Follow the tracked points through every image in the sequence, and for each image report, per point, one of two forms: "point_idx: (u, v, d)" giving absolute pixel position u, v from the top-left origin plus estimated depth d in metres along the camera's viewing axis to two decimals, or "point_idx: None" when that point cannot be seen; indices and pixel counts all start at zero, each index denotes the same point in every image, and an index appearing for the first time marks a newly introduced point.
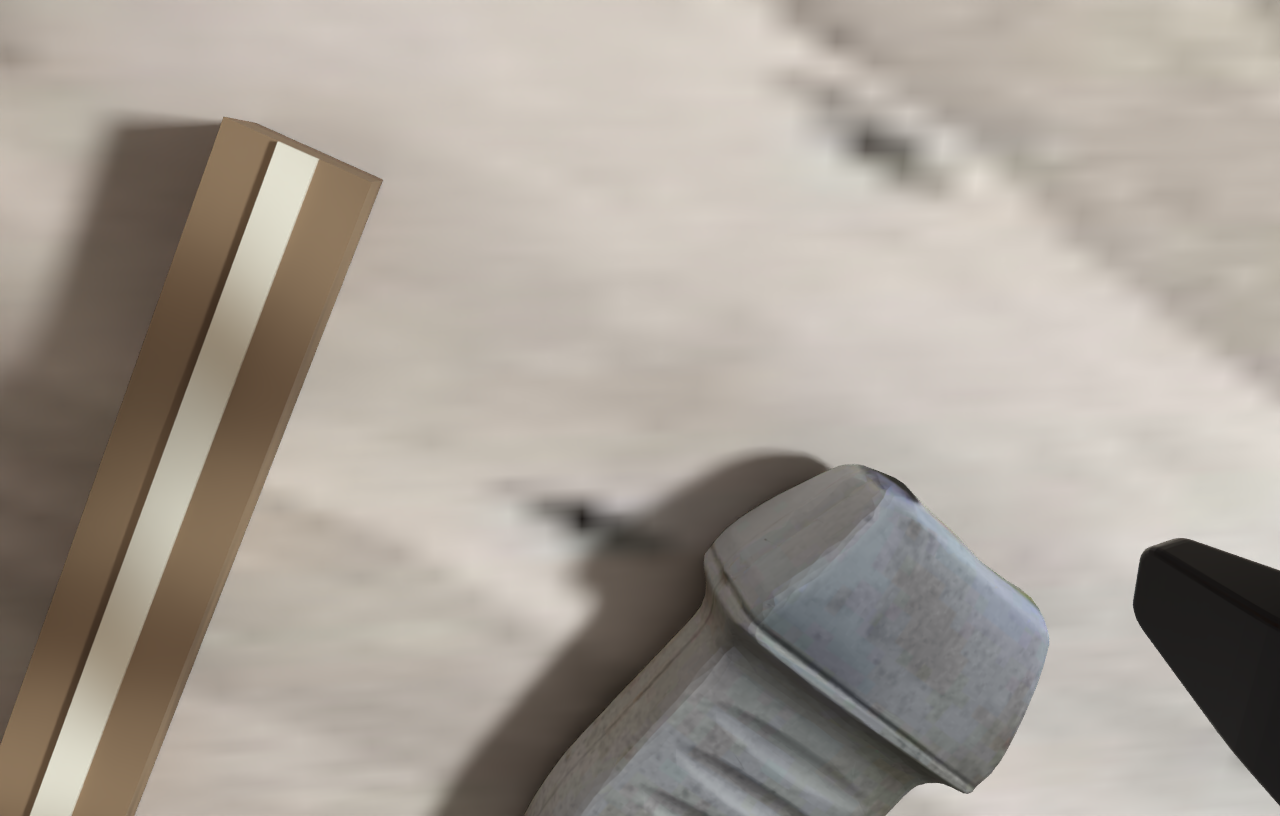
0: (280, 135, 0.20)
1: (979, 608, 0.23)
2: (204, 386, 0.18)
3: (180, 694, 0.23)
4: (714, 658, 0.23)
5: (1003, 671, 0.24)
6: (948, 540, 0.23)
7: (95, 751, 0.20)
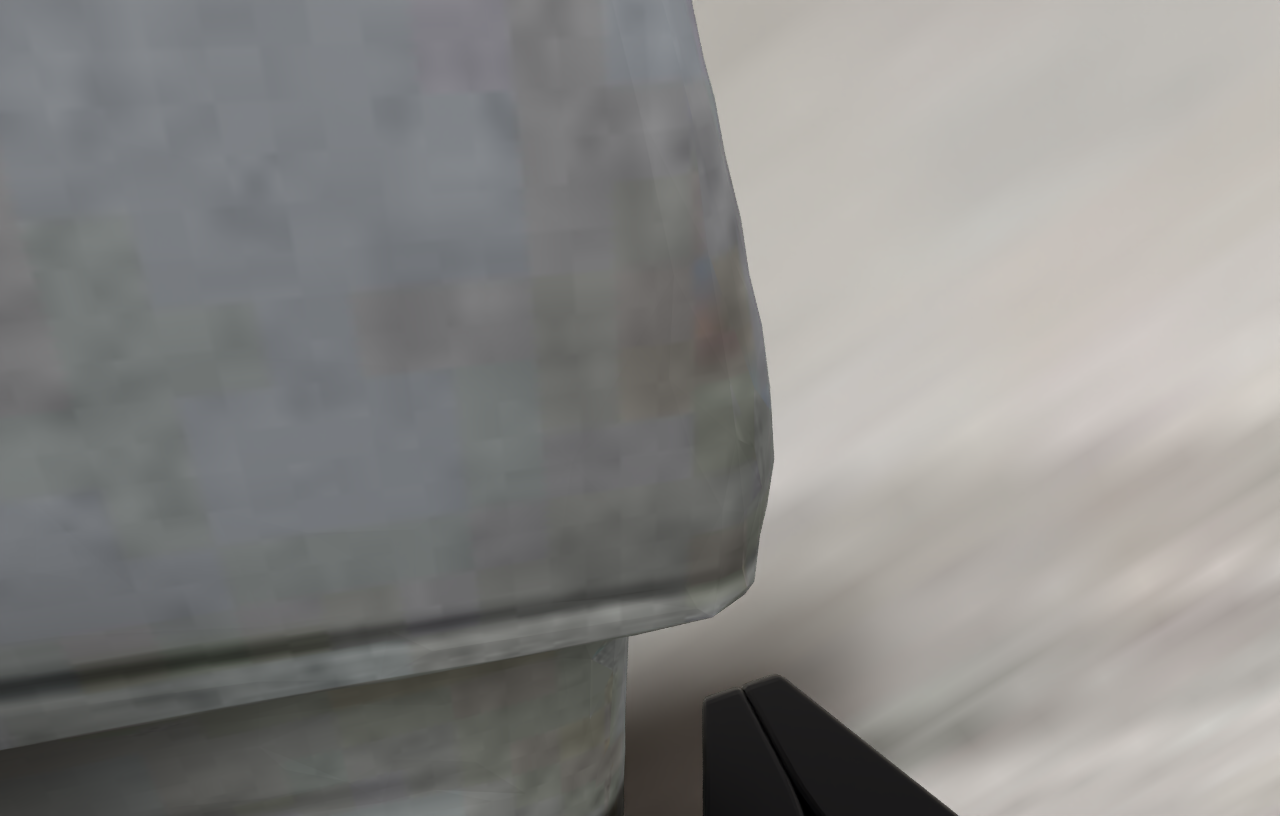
0: None
1: None
2: None
3: None
4: None
5: (316, 9, 0.03)
6: None
7: None
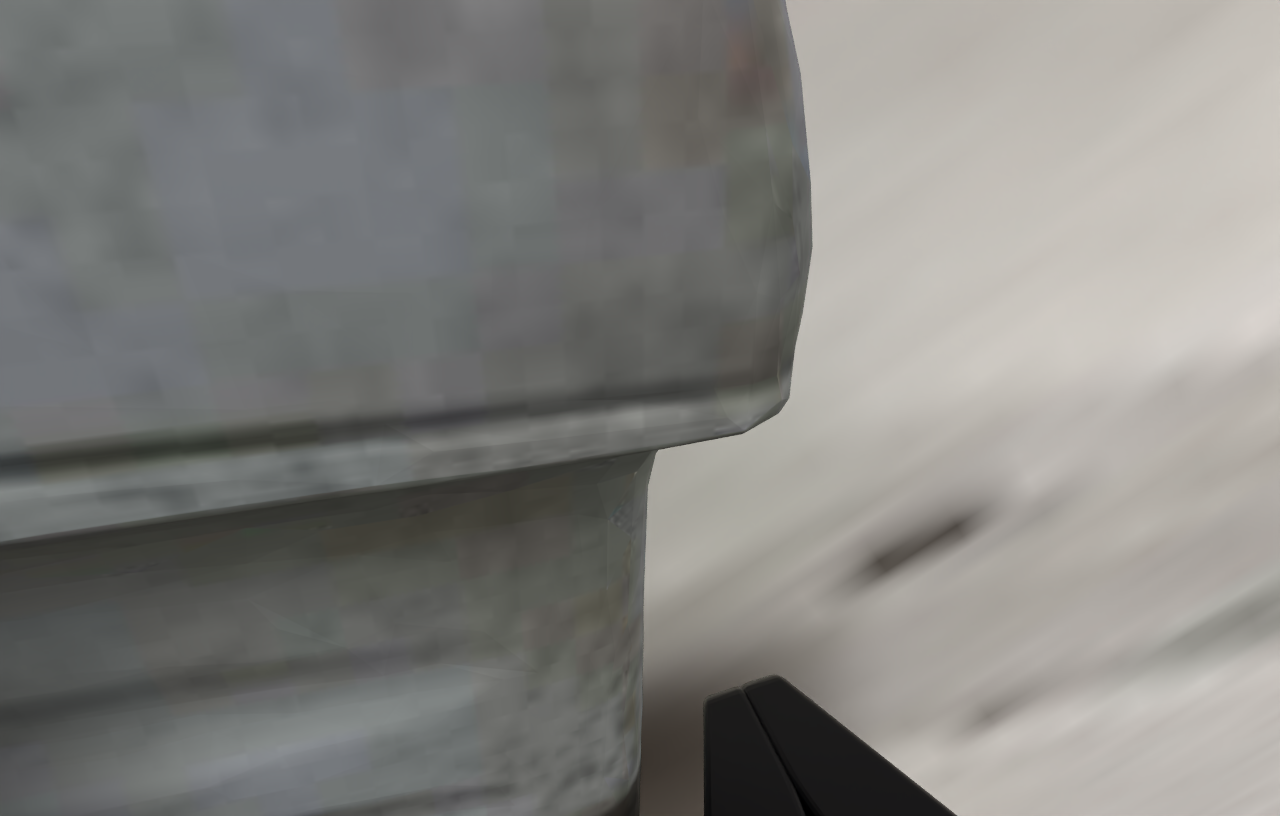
0: None
1: None
2: None
3: None
4: None
5: None
6: None
7: None
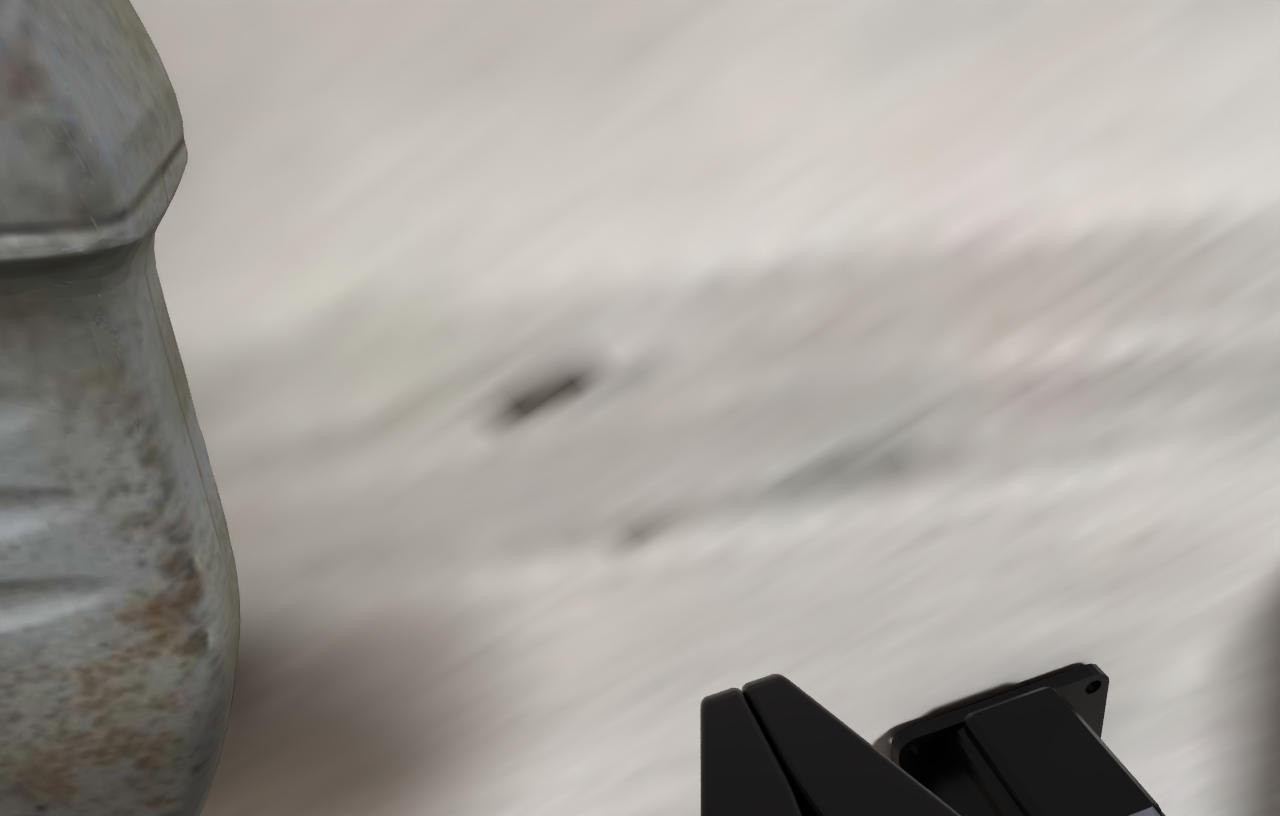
0: None
1: None
2: None
3: None
4: None
5: None
6: None
7: None
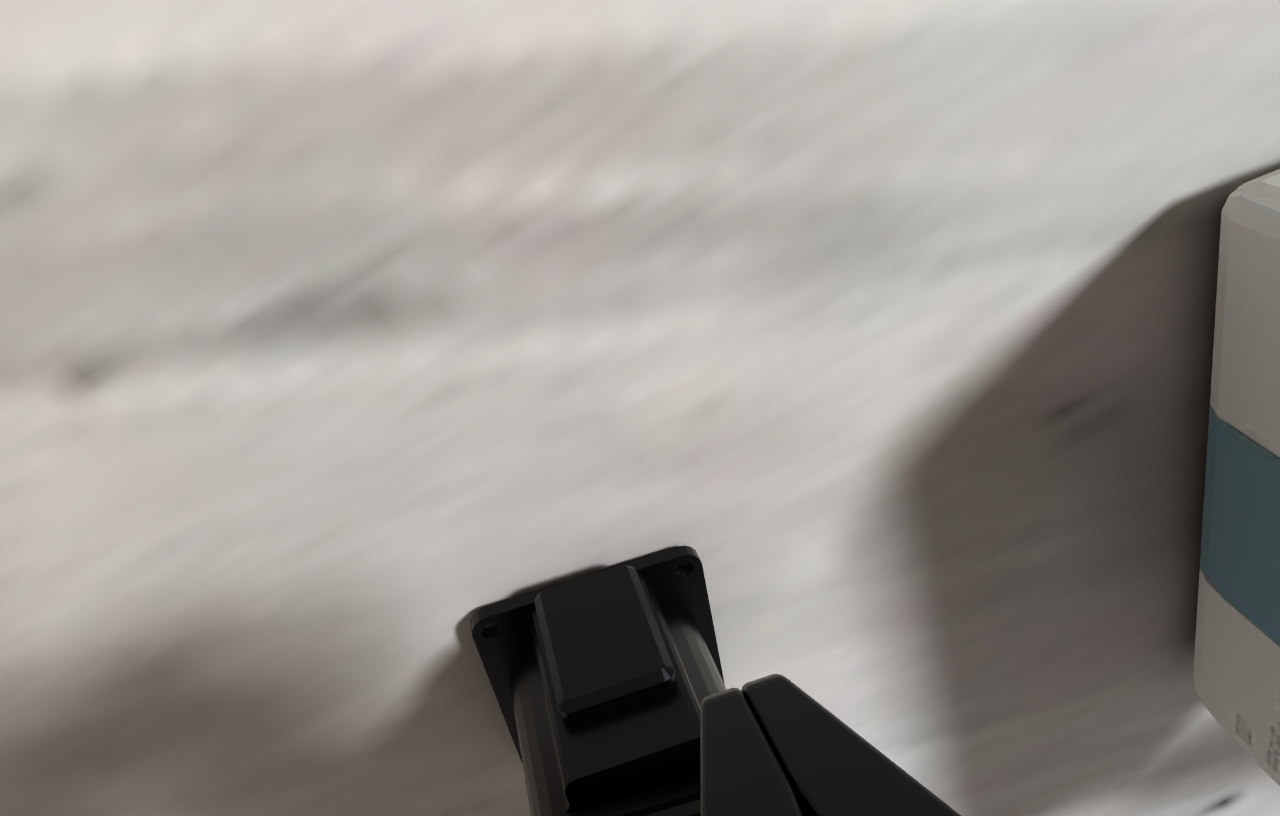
0: None
1: None
2: None
3: None
4: None
5: None
6: None
7: None
